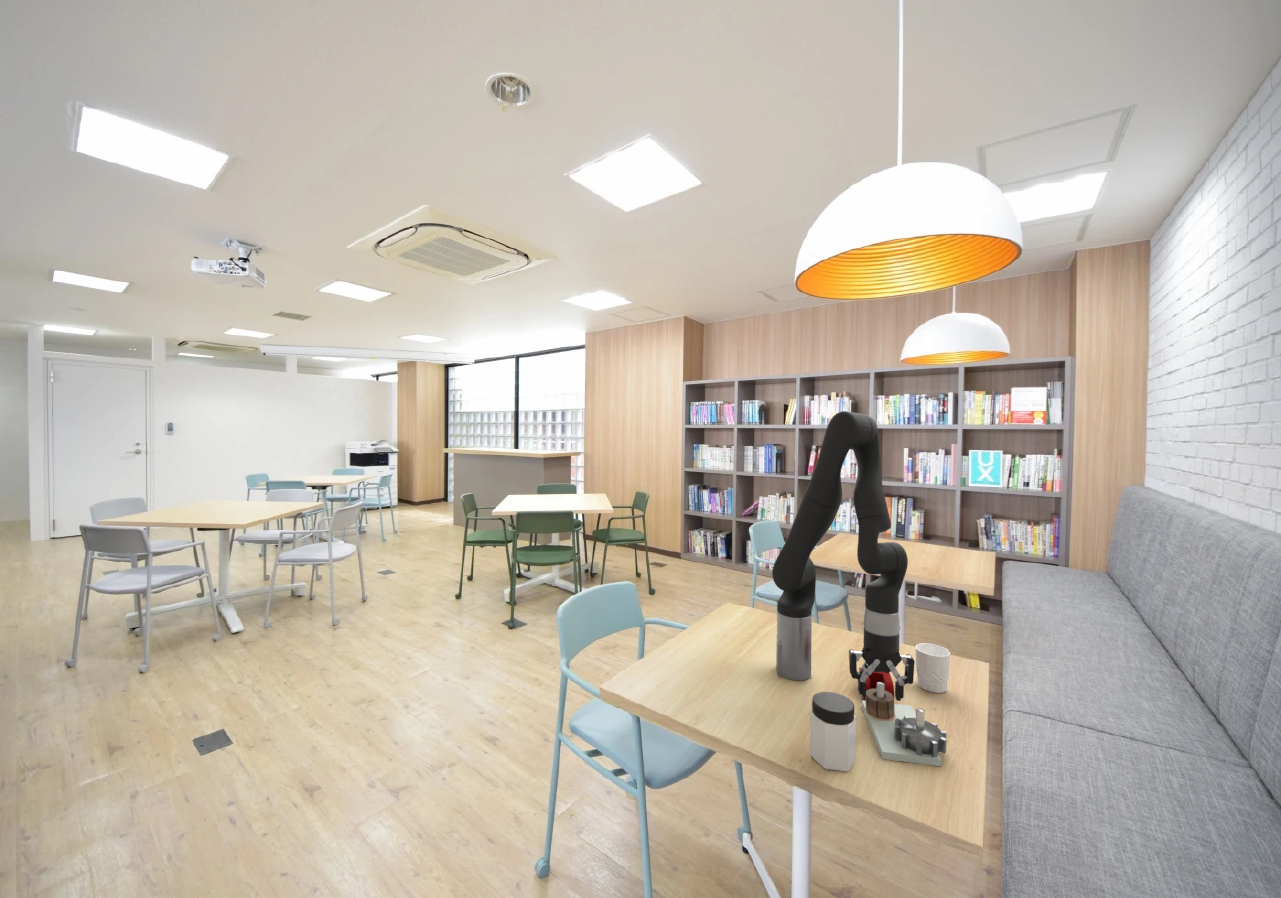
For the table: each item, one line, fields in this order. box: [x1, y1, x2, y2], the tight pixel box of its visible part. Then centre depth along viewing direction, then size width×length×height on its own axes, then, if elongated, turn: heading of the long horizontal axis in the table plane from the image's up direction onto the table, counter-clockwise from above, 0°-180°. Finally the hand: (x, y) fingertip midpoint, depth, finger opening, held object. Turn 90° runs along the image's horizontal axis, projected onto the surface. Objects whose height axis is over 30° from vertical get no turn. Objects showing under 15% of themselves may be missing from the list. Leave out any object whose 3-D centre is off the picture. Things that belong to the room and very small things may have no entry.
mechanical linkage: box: [858, 667, 895, 699], centre depth 132 cm, size 16×7×5 cm, turn 162°
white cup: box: [915, 642, 951, 694], centre depth 132 cm, size 8×8×10 cm
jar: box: [809, 691, 857, 772], centre depth 103 cm, size 9×8×12 cm
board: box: [861, 682, 942, 767], centre depth 112 cm, size 11×20×8 cm, turn 167°
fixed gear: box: [894, 707, 947, 757], centre depth 106 cm, size 10×10×7 cm
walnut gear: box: [864, 689, 895, 719], centre depth 117 cm, size 6×6×4 cm
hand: (880, 697), depth 117 cm, fingers open, 7 cm apart
